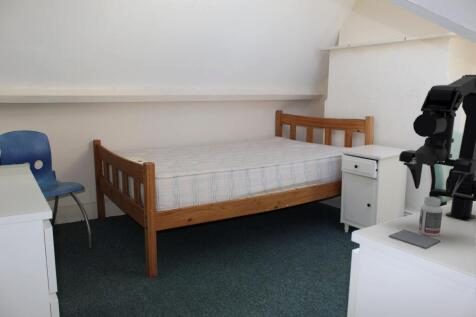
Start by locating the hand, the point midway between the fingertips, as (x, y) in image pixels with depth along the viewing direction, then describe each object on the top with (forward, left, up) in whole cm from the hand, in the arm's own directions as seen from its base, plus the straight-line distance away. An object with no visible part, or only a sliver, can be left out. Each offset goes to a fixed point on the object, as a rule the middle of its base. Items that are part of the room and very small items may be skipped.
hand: (433, 192), depth 111 cm
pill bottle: (0, 0, -12) cm, 12 cm away
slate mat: (+8, 0, -12) cm, 14 cm away
